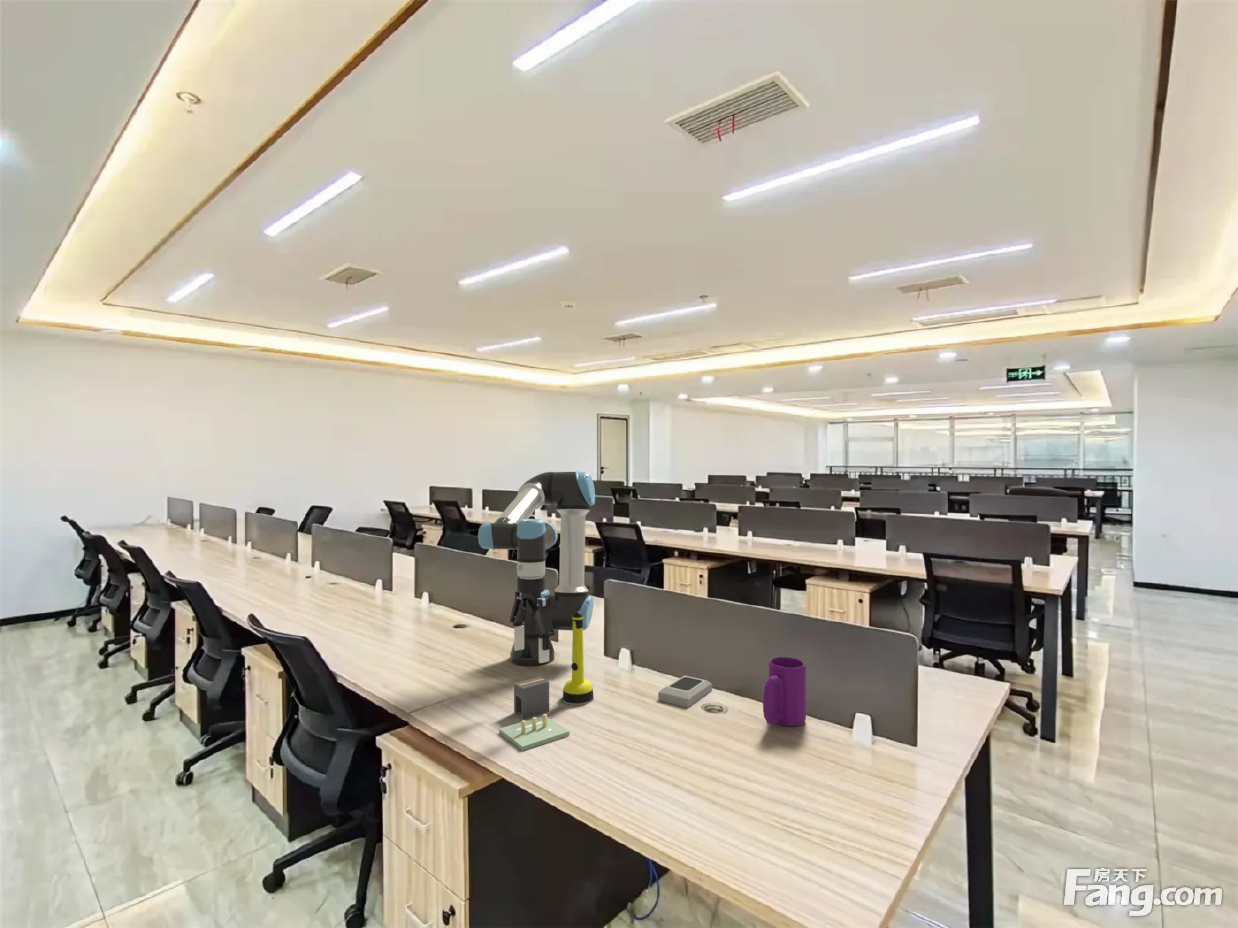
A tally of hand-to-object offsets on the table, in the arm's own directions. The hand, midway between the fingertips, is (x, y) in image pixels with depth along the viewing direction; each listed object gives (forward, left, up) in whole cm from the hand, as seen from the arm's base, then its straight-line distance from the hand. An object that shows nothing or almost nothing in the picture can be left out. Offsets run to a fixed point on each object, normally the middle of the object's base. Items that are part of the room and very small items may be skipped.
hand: (531, 655), depth 160 cm
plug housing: (0, 0, -15) cm, 15 cm away
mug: (-47, +46, -16) cm, 68 cm away
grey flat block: (-41, +17, -16) cm, 47 cm away
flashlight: (-15, 0, -16) cm, 22 cm away
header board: (+6, +12, -15) cm, 20 cm away
